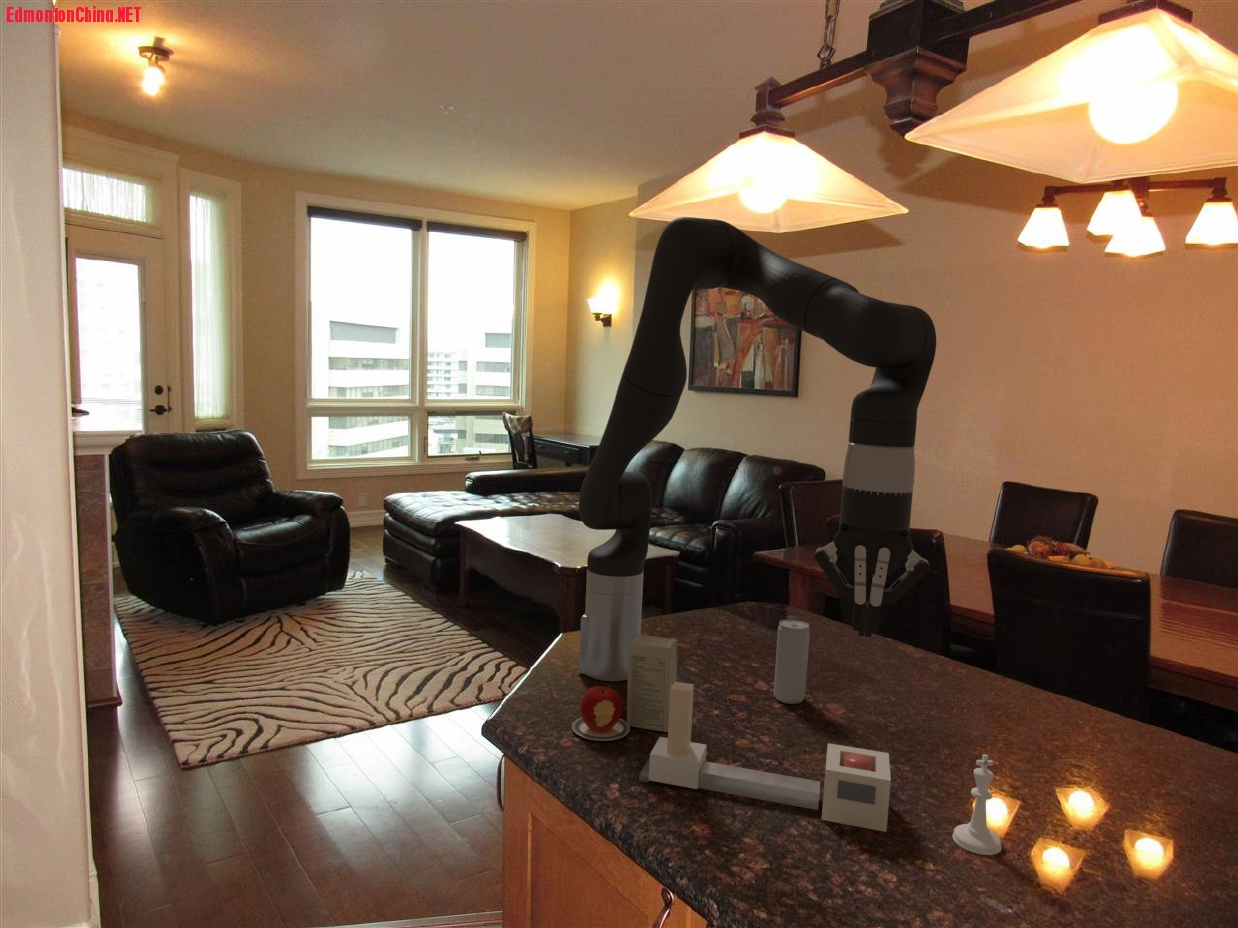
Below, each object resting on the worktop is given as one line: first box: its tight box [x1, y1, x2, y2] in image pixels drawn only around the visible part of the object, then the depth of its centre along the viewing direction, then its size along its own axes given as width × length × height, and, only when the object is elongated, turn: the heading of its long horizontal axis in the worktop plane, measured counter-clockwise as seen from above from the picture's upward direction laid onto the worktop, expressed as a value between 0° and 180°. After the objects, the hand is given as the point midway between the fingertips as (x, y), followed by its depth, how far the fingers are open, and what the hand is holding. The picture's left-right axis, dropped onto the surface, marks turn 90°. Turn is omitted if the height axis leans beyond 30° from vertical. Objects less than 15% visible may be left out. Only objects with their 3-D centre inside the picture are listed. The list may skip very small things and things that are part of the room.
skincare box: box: [626, 634, 678, 733], centre depth 116 cm, size 6×4×12 cm
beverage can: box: [773, 619, 811, 705], centre depth 127 cm, size 5×5×12 cm
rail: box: [638, 756, 821, 811], centre depth 100 cm, size 21×5×2 cm, turn 74°
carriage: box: [649, 681, 707, 790], centre depth 101 cm, size 6×5×11 cm
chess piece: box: [952, 753, 1003, 856], centre depth 90 cm, size 5×5×10 cm
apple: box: [571, 684, 631, 742], centre depth 114 cm, size 8×8×6 cm
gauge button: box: [844, 754, 872, 771], centre depth 95 cm, size 3×3×5 cm
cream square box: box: [821, 742, 892, 833], centre depth 95 cm, size 7×7×6 cm
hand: (864, 634), depth 94 cm, fingers closed
